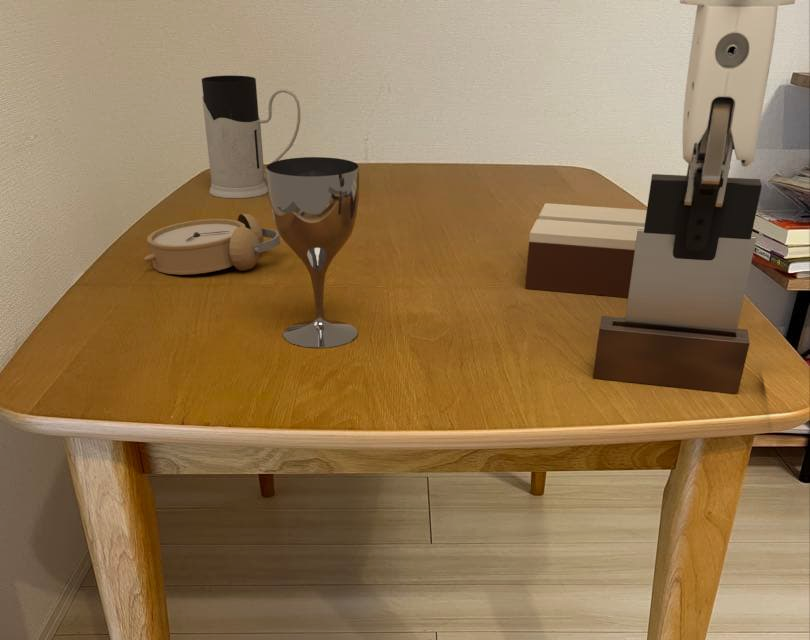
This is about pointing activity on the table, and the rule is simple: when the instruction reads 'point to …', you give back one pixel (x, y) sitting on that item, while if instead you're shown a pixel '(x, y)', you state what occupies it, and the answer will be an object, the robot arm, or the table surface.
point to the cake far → (593, 214)
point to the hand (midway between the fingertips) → (693, 251)
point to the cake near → (581, 257)
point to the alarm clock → (209, 245)
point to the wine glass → (315, 230)
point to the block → (671, 355)
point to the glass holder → (236, 136)
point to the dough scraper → (686, 278)
